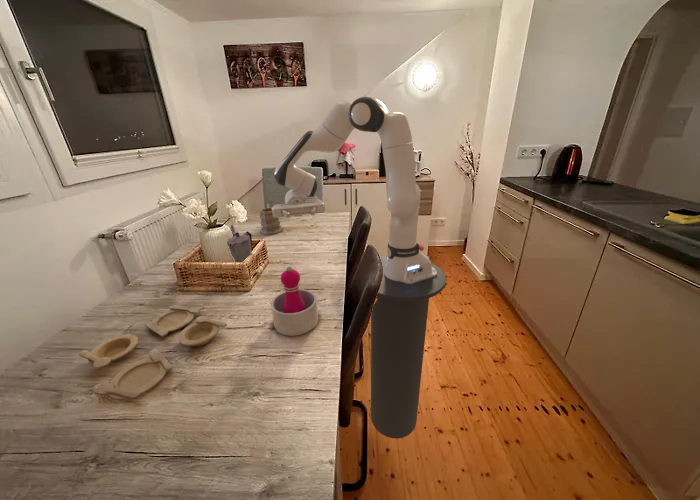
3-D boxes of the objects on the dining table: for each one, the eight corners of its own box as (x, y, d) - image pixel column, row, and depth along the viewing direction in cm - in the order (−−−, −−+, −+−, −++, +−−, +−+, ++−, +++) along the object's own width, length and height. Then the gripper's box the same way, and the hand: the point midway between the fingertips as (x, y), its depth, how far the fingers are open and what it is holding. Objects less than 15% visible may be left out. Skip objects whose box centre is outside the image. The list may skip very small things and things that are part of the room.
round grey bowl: (314, 304, 102) (312, 286, 99) (321, 330, 89) (319, 309, 86) (273, 312, 99) (270, 293, 96) (274, 339, 86) (271, 318, 83)
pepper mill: (311, 317, 95) (305, 264, 87) (296, 329, 89) (288, 274, 81) (295, 310, 99) (288, 259, 91) (280, 321, 93) (271, 268, 85)
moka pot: (228, 281, 120) (217, 237, 112) (246, 265, 134) (238, 225, 126) (248, 282, 118) (239, 238, 110) (264, 266, 132) (258, 226, 124)
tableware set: (183, 304, 105) (181, 295, 103) (239, 326, 92) (237, 316, 91) (63, 371, 77) (57, 360, 75) (120, 416, 64) (113, 404, 62)
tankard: (282, 233, 174) (278, 209, 167) (260, 235, 171) (256, 211, 165) (281, 223, 191) (278, 201, 185) (262, 225, 189) (259, 203, 183)
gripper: (270, 200, 113) (270, 208, 100) (320, 195, 117) (326, 203, 105) (272, 215, 115) (273, 225, 103) (321, 210, 120) (327, 219, 108)
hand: (300, 214), depth 104 cm, fingers open, 8 cm apart
